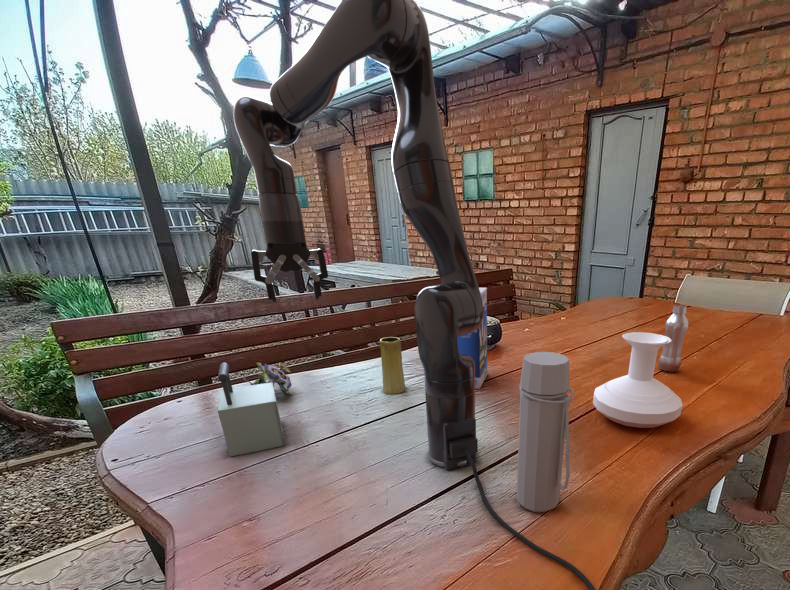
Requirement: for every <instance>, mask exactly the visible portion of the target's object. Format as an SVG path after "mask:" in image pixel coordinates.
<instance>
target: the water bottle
mask: <svg viewBox="0 0 790 590" xmlns="http://www.w3.org/2000/svg"><path fill="white" fill-rule="evenodd" d="M518 388H519V391H520V393H519V421H518V449H517V474H516V475H517V477H516V478H517V479H516V501H517V503H518V504H520V505H521V507H522V508H523V509H525V510H527V511H530V512H533V513H545V512H548V511H551V510H553V509H555V508H556V507H557V505H558V504H559V502H560V497H561V490H562V491H566V490H567V488H568V485H569V481H570V476H571V474H570V473H571V471H570V469H571V467H570V423H569V422H570V421H569V418H570V417H569V416H570V415H569V408H570V405H571V402H572V399H574V397H575V392H574V390H573V389H572V388H571V387H570V359H569V358H568V356H567V355H564V354H563V353H558V352H552V351H536V352H530V353H529V352H528V353H527V354H525V355H524V356H523V359H522V366H521V374H520V382H519V385H518ZM569 392H570V394H571V396H569V395H568V393H569ZM564 449H565V450H564ZM564 451H565V480H564V486H562V476H563V475H562V473H563V462H564Z"/></svg>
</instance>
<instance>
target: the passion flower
mask: <svg viewBox="0 0 790 590" xmlns="http://www.w3.org/2000/svg"><path fill="white" fill-rule="evenodd" d="M256 366H257V367H258V368H259V369H260V370H261V372H262V373H259V374H258V375H257V377H258V378H256V379H255V381H254V382H251V381H249V380H248V379H247V376H245V375H243V376H242V380H244V382H245V383H249V384H250V385H257V384H264V383H271V382H273V386H274V387H275V384H277V385H278V386H279V389H280V391H281V392H282V394H284V395H285V396H292V395H293V392H292V391H291V388H292V382H291V377H290V376H289V375H286V373H289V374H292V373H293V371H292V370H291V369H290V368H289V367H288V366H287V365H285V363H283V362H279V363H278V367H277V366H274V365H272V364H270V363H269V364H267V363H264V364H262V363H261V362H256Z"/></svg>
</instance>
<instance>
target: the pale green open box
mask: <svg viewBox="0 0 790 590" xmlns="http://www.w3.org/2000/svg"><path fill="white" fill-rule="evenodd" d="M229 370H230V365H229V363H227V362H221V363H220V364H219V367H218V374H217V380H218V381H219V382H221V386H222V389H219V397H218V403H217V404H218V405H217V415H218V417H219V422H220V425H221V429H222V432H223V437H224V439H225V443H226V447H227V451H228V455H229V457H236V456H240V455H246V454H250V453H254V452H259V451H260V452H261V451H265V450H269V449H275V448H278V447H284V446H286V441H285V436H284V430H283V425H282V420H281V415H280V410H279V406H278V401H277V397H276V392H275V385H274V386H273V382H271V383H264V384H257V385H251V384H250V385H243V386H237V387H233V385H232V381H231V378H230V374H229V373H230V371H229Z"/></svg>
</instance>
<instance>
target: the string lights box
mask: <svg viewBox="0 0 790 590" xmlns="http://www.w3.org/2000/svg"><path fill="white" fill-rule="evenodd" d="M479 290H480V294H481V298H482V303H483V319H482V322H481V324H480V326H479V327H478V329H476V330H475V331H473V332H471V333H469V334H465V335H462V336H459V337H457V342H458V351H459V353H462V354H466V355H468V356H470V357H472V358H473V360H474V363H475V390H480V389H481V387H482V385H483V383H484V381H485V380H486V377H487V376H488V287H479Z"/></svg>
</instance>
